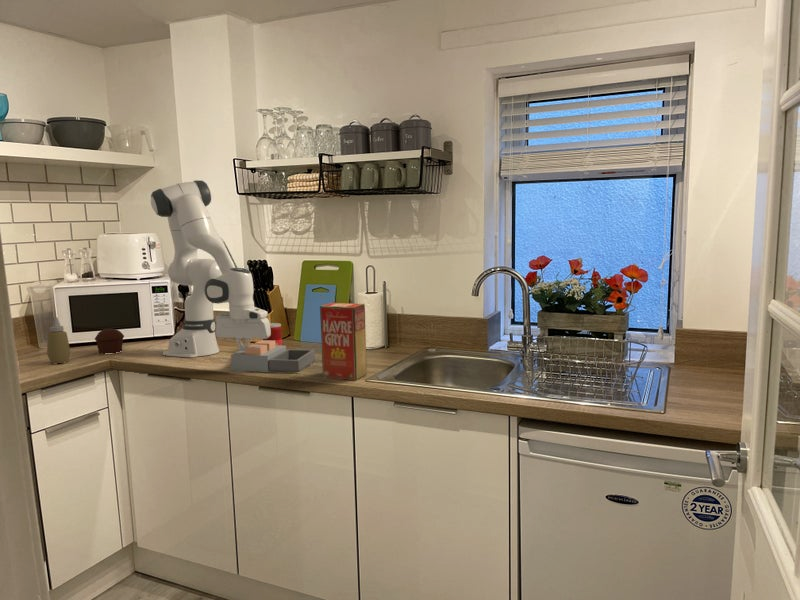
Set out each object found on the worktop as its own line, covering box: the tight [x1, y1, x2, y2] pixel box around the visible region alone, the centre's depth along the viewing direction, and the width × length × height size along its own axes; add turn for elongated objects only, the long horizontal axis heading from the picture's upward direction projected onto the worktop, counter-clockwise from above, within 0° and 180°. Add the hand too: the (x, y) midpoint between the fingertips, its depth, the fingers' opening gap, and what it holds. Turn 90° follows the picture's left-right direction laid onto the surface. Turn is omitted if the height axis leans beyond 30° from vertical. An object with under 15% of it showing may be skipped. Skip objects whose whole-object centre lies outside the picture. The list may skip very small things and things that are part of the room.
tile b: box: [253, 339, 276, 350], centre depth 232 cm, size 6×6×2 cm
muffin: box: [94, 327, 125, 354], centre depth 259 cm, size 12×11×10 cm
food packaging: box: [319, 302, 368, 381], centre depth 211 cm, size 13×9×25 cm
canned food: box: [262, 322, 283, 345], centre depth 257 cm, size 8×8×11 cm
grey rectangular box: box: [230, 344, 287, 373], centre depth 230 cm, size 14×18×6 cm
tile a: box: [245, 343, 267, 355], centre depth 224 cm, size 6×6×2 cm
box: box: [269, 348, 316, 373], centre depth 227 cm, size 11×18×4 cm, turn 169°
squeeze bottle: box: [46, 316, 72, 365], centre depth 240 cm, size 8×8×18 cm
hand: (243, 350), depth 225 cm, fingers closed
